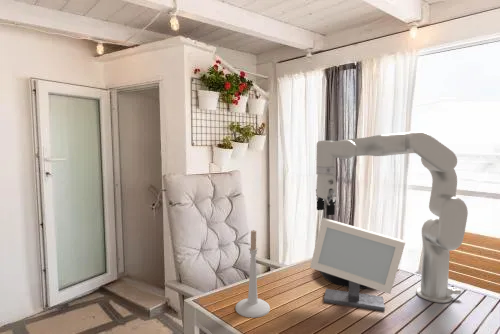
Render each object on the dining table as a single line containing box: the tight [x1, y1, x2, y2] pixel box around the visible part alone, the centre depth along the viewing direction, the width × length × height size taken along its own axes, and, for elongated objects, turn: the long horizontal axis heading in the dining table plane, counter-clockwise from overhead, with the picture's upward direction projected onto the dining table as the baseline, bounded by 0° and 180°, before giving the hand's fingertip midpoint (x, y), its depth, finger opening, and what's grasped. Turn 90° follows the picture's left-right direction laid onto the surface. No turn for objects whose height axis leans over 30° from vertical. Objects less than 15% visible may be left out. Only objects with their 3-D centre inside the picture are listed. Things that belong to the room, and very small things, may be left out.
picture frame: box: [309, 217, 406, 295], centre depth 125 cm, size 30×3×20 cm, turn 73°
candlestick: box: [235, 229, 271, 319], centre depth 122 cm, size 13×13×30 cm
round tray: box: [319, 271, 371, 289], centre depth 155 cm, size 30×6×30 cm
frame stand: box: [323, 281, 386, 312], centre depth 129 cm, size 22×9×23 cm, turn 73°
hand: (325, 212), depth 136 cm, fingers open, 9 cm apart
